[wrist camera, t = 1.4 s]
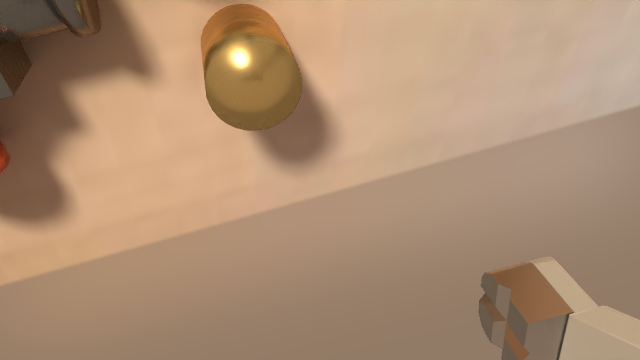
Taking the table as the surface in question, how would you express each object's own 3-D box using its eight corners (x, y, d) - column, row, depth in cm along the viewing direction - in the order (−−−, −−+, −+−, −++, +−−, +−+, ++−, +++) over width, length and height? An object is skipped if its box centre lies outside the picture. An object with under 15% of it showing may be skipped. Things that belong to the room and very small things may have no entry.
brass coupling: (271, -6, 30) (290, 29, 25) (290, 71, 33) (310, 116, 28) (189, 16, 30) (192, 55, 25) (215, 92, 33) (222, 141, 28)
